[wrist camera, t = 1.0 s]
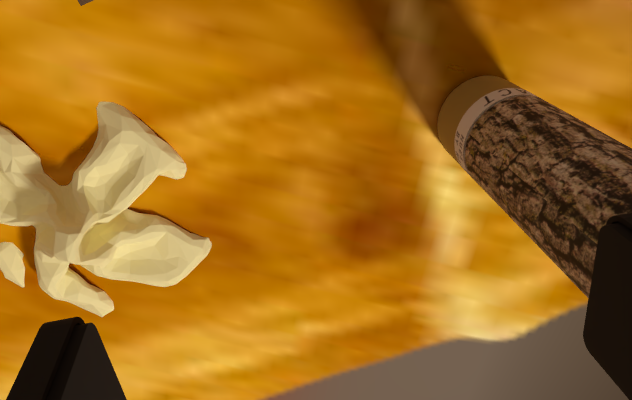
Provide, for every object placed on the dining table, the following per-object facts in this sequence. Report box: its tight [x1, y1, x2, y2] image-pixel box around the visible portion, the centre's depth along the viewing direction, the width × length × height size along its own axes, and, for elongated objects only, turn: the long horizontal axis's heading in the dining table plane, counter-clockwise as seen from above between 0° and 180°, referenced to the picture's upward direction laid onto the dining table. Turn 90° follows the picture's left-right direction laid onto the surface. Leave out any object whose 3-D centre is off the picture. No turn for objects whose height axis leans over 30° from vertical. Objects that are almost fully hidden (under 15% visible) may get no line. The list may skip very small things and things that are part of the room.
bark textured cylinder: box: [437, 76, 632, 298], centre depth 30 cm, size 7×7×25 cm
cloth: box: [0, 102, 212, 317], centre depth 38 cm, size 22×19×6 cm
